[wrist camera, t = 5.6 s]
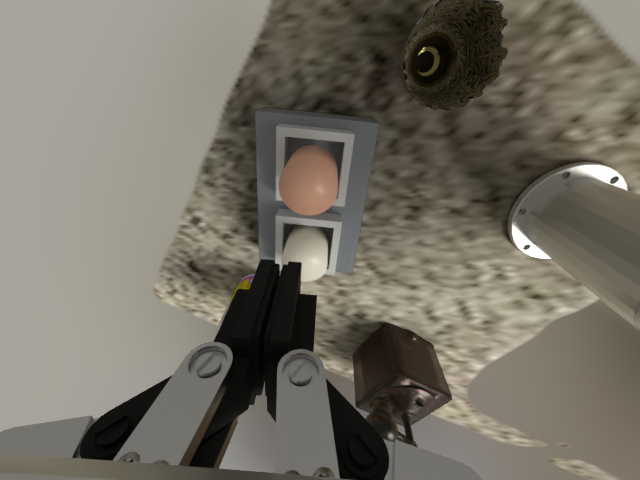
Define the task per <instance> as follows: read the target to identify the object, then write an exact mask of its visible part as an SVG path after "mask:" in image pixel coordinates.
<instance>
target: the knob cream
mask: <svg viewBox="0 0 640 480" xmlns="http://www.w3.org/2000/svg"><path fill="white" fill-rule="evenodd" d="M327 260H328V236H327V233H326V231H325V230H324V229H323V228H322V227H318V226H307V225H297V224H296V225H295V226H294V227H293V228H292V229H291V230H290V232H289V235H288V238H287V242H286V245H285V249H284V252H283V256H282V260H281V264H282V266H283V264H286V265H288V262H289V261H291V262H302V268H301V282H310V281H314V280H317V279H318V278H320V277H321V276H322V275H323V274H324V273H325V271H326V269H327Z"/></svg>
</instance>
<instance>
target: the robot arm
mask: <svg viewBox="0 0 640 480" xmlns="http://www.w3.org/2000/svg"><path fill="white" fill-rule="evenodd" d="M507 229H508V235H509V237H510V239H511V241H512V243H513V244H514V245H515V246H516V247H517V248H518V249H519V250H520V251H522V252H523V253H525V254H527V255H529V256H532V257H536V258H543V259H550V258H551V259H552V260H553V261H555V262H556V263H557V264H558V265H559V266H561V267H562V268H563V269H564V270H566V271H567V272H568V273H569V274H570V275H572V276H573V277H574V278H575V279H577V280H578V281H579V282H580V283H582V284H583V285H584V286H585V287H586V288H588V289H589V290H590V291H591V292H593V293H594V294H595V295H596V296H597V297H599V298H600V299H601V300H602V301H604V302H605V303H606V304H607V305H608V306H610V307H611V308H612V309H613V310H615V311H616V312H617V313H618V314H620V315H621V316H622V317H623V318H624V319H626V320H627V321H628V322H629V323H631V324H632V325H633V326H634V327H636V328H637V329H638V330H639V331H640V195H638V194H636V193H633V192H630V191H628V189H627V184H626V181H625V180H624V178H623V176H622V175H621V174H620V173H619V172H618V171H617V170H615V169H613V168H611V167H609V166H606V165H603V164H599V163H594V162H577V163H572V164H568V165H564V166H561V167H559V168H556V169H554V170H551V171H550V172H548V173H546V174H544V175H543V176H541V177H539V178H538V179H537V180H535V181H534V182H533V183H531V184H530V185H529V186H528V187H527V188H526V189H525V190H524V191H523V192H522V193H521V195H520V196H519V197H518V199H517V200H516V201H515V203H514V205H513V207H512V209H511V211H510V214H509V218H508V225H507ZM301 268H302V262H291V261H289V262H288V265H286V264H283V266H282V270H281V274H280V265H279V264H275V260H268V259H261V260H260V263H259V265H258V268H257V270H256V273H255V275H254V278H253V281H252V283H251V286H250V288H249V290H247V289H238V290H237V291H236V293H235V295H234V297H233V300H232V302H231V304H230V306H229V308H228V311H227V313H226V315H225V317H224V320H223V322H222V324H221V326H220V329H219V331H218V333H217V336H216V337H215V340H214V342H209V343H204V344H202V345H200V346H198V347H196V348H195V349H193V350H192V351H191V352H190V353H189V354H188V355H187V356H186V357H185V359H184V360H183V362H182V363H181V365H180V366H179V367H178V369H177V370H176V372H175V373H174V374H173V375H172V376H170V377H169V378H167V379H165V380H163V381H162V382H160V383H158V384H156V385H154V386H153V387H151V388H149V389H147V390H146V391H144V392H142V393H140V394H139V395H137V396H135V397H133V398H132V399H130V400H128V401H127V402H124V403H123V404H121V405H119V406H118V407H115V408H114V409H112V410H110V411H108V412H107V413H106V414H104V415H103V416H101V417H100V418H96V419H93V418H92V416H86V417H80V418H73V419H67V420H60V421H54V422H47V423H40V424H34V425H27V426H20V427H14V428H11V429H8V430H5V431H2V432H0V480H481V478H480V476H479V475H477V473H476V472H475V471H474V470H472V469H471V468H470V467H469V466H467V465H465V464H463V463H461V462H458V461H455V460H453V459H450V458H447V457H444V456H441V455H438V454H435V453H432V452H429V451H426V450H424V449H421V448H418V447H415V446H412V445H409V444H406V443H403V442H400V441H397V440H395V442H391V441H388V440H385V439H382V437H381V436H380V434H379V433H378V432H377V431H376V430H375V429H374V428H373V427H372V426H371V425H370V424H369V423H368V422H367V421H366V420H365V419H364V418H363V416H362V415H361V414H360V413H359V412H358V411H357V410H356V409H355V408H354V407H353V406H352V405H351V404H350V403H349V402H348V401H347V400H346V399H345V398H344V397H343V396H342V395H341V394H340V393H339V391H337V389H336V388H335V387H334V386H333V385H332V384H331V383H330V382H329V381H328V380H327V379H326V377H325V370H324V366H323V362H322V360H321V359H320V358H319V356H318V355H316V354H315V353H314V352H313V348H314V332H315V317H316V301H317V295H306V294H300V284H301ZM264 382H265V394H266V396H267V410H268V412H269V413H270V415H271V416H272V418H273V419H274V420H275V422H276V452H275V473H265V472H254V471H253V472H252V471H240V470H228V469H219V467H220V464H221V461H222V459H223V457H224V455H225V452H226V450H227V447H228V445H229V443H230V440H231V438H232V435H233V433H234V431H235V428H236V426H237V423H238V420H239V415H241V414H242V413H243V412H245V411H246V410H247V409H248V408H249V405H254V402H255V398H256V395H261V394H262V391H263V386H264Z"/></svg>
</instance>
